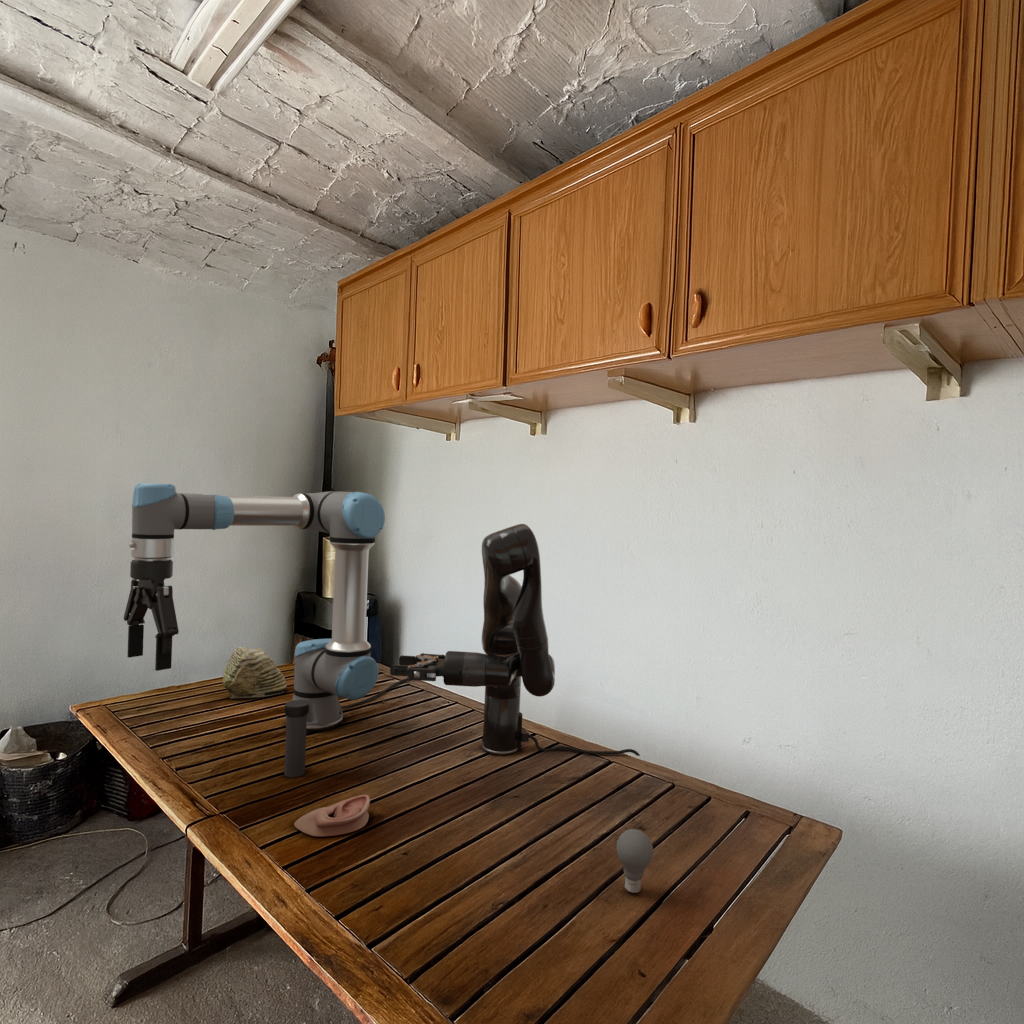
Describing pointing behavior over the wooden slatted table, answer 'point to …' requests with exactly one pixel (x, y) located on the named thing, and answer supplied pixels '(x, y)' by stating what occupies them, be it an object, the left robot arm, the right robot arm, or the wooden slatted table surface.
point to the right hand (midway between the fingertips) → (395, 665)
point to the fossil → (252, 674)
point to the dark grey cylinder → (295, 746)
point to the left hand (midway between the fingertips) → (148, 662)
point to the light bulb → (634, 857)
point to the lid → (296, 708)
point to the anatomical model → (336, 818)
